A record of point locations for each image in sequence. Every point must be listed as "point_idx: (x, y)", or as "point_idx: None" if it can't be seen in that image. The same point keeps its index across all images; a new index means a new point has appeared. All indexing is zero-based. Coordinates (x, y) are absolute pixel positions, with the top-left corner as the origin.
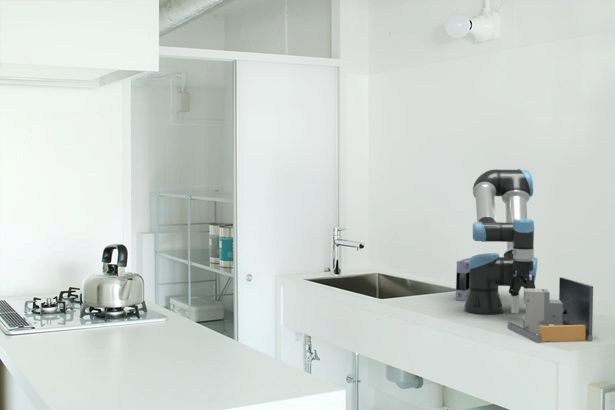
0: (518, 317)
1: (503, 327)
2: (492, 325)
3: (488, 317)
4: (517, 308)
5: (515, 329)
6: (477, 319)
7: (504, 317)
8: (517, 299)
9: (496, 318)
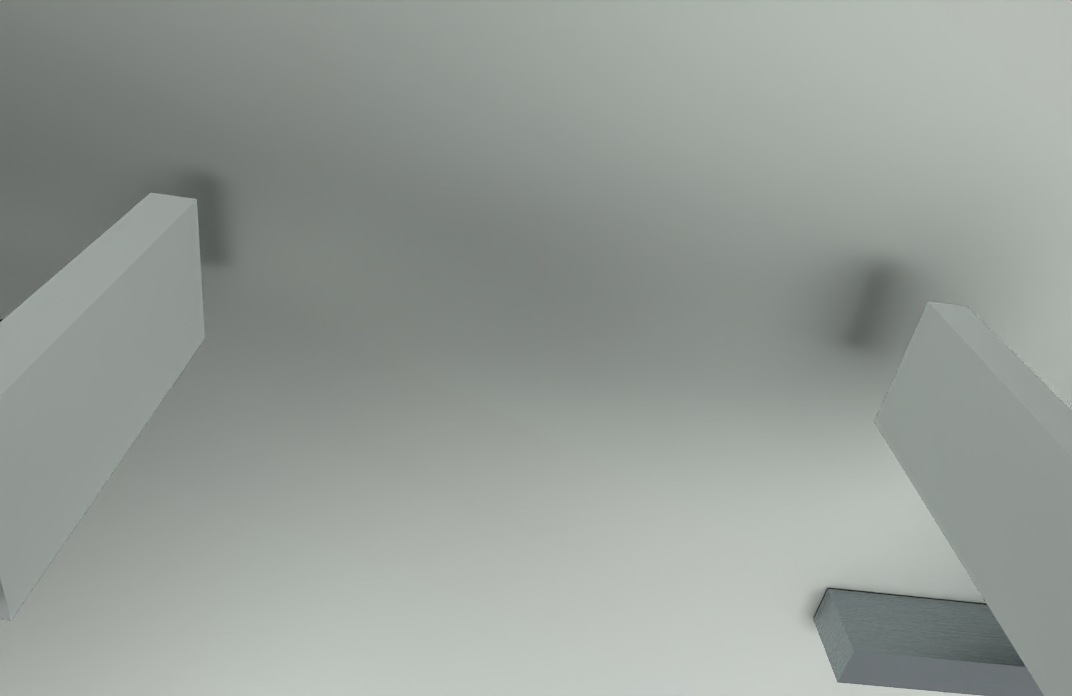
0: (55, 59)
1: (772, 644)
2: (613, 691)
3: None
4: (158, 275)
5: None
6: (204, 685)
7: None
8: (37, 408)
9: (146, 465)
